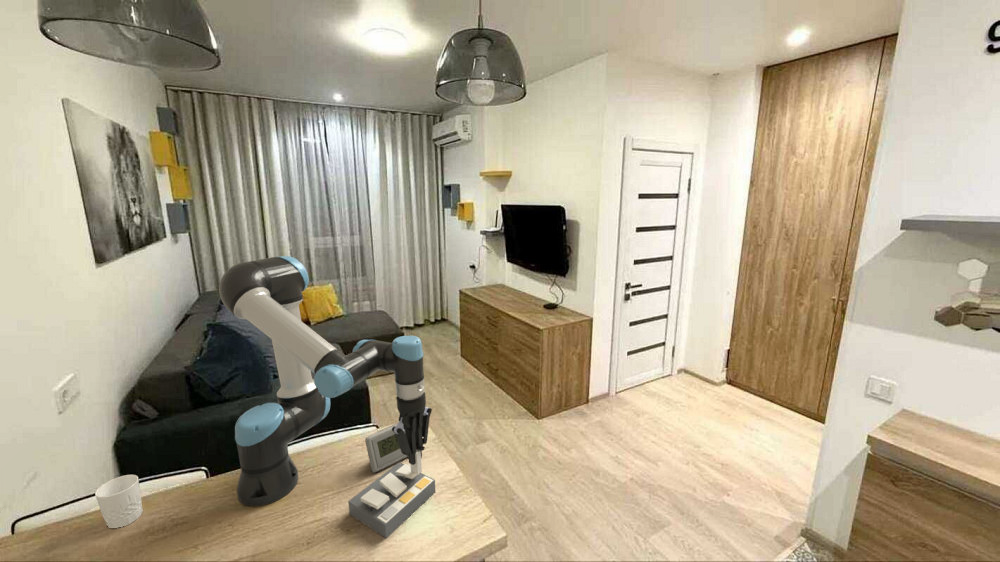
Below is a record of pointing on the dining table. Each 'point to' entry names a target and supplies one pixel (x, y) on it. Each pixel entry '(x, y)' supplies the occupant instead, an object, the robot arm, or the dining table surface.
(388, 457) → the digital clock
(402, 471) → the switch
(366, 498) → the switch
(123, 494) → the white cup
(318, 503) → the dining table surface
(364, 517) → the panel
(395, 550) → the dining table surface
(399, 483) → the switch
